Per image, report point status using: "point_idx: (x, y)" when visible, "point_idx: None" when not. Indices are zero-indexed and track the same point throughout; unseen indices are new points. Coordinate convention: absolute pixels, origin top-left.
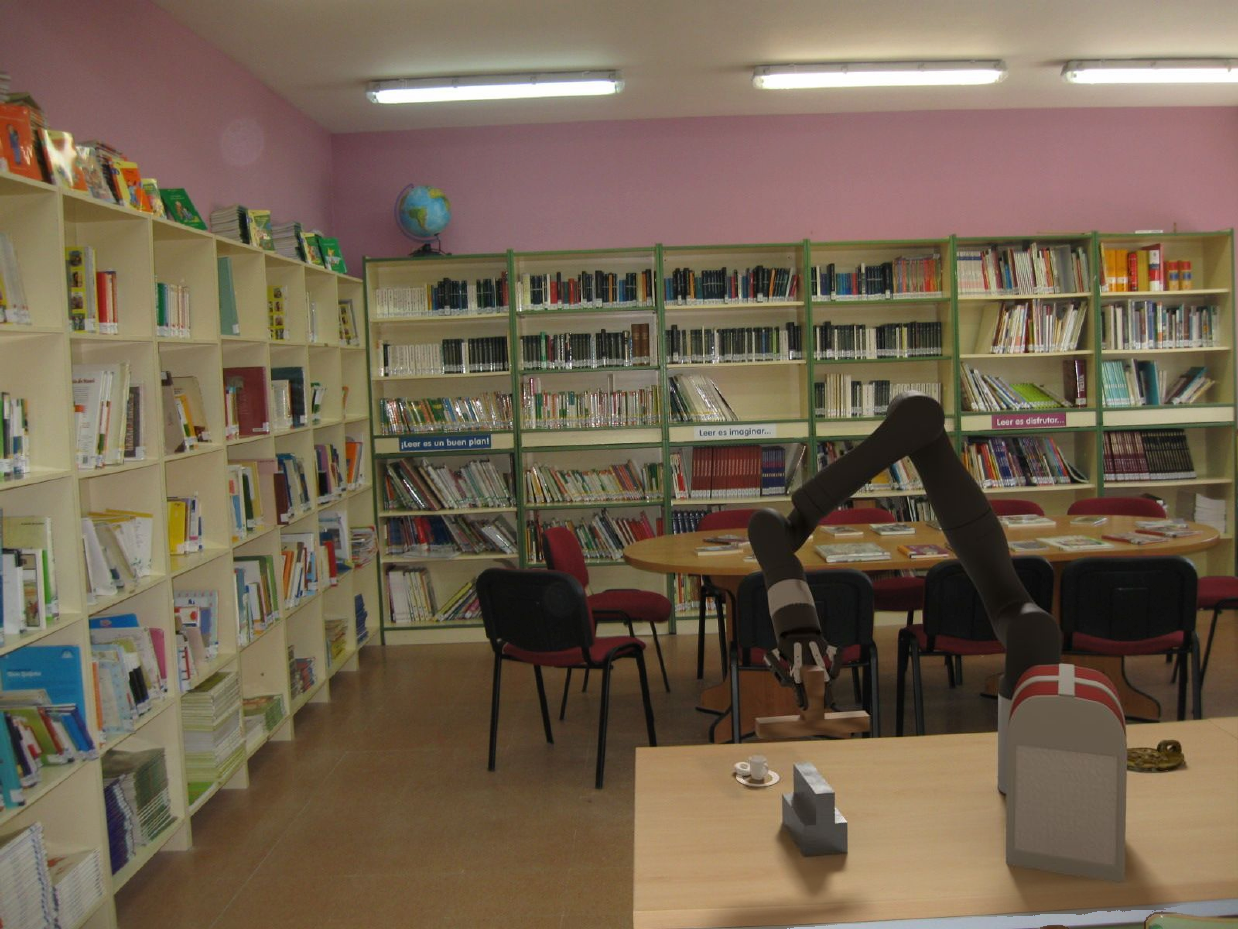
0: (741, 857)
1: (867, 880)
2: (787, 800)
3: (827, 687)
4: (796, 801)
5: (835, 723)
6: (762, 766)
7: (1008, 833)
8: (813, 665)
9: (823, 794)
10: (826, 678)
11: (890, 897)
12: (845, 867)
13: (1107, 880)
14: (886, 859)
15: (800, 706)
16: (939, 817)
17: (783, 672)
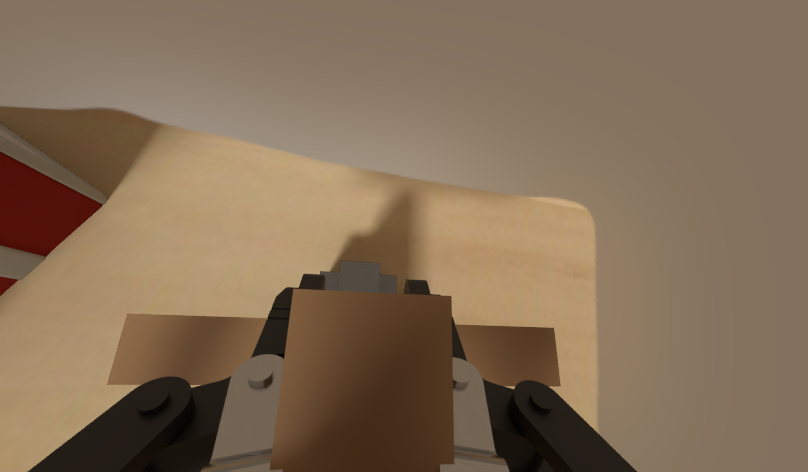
0: (473, 302)
1: (331, 207)
2: None
3: (275, 344)
4: None
5: None
6: None
7: (67, 174)
8: (326, 468)
9: (364, 262)
10: (259, 367)
11: (322, 166)
12: (345, 244)
13: (2, 124)
14: (277, 250)
15: None
16: (91, 372)
17: (573, 438)
